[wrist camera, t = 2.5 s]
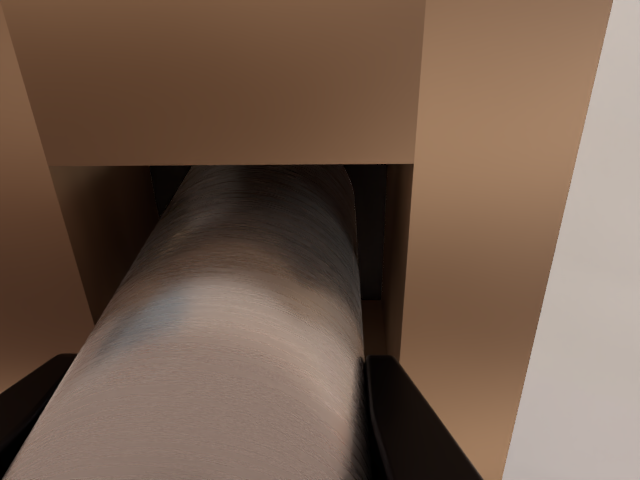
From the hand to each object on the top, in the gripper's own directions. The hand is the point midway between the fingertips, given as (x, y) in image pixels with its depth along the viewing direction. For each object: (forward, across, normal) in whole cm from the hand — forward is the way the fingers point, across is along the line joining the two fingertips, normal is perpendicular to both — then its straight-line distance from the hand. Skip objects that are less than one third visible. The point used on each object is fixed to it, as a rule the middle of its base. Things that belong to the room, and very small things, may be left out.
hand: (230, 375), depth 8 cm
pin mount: (+6, 0, 0) cm, 6 cm away
